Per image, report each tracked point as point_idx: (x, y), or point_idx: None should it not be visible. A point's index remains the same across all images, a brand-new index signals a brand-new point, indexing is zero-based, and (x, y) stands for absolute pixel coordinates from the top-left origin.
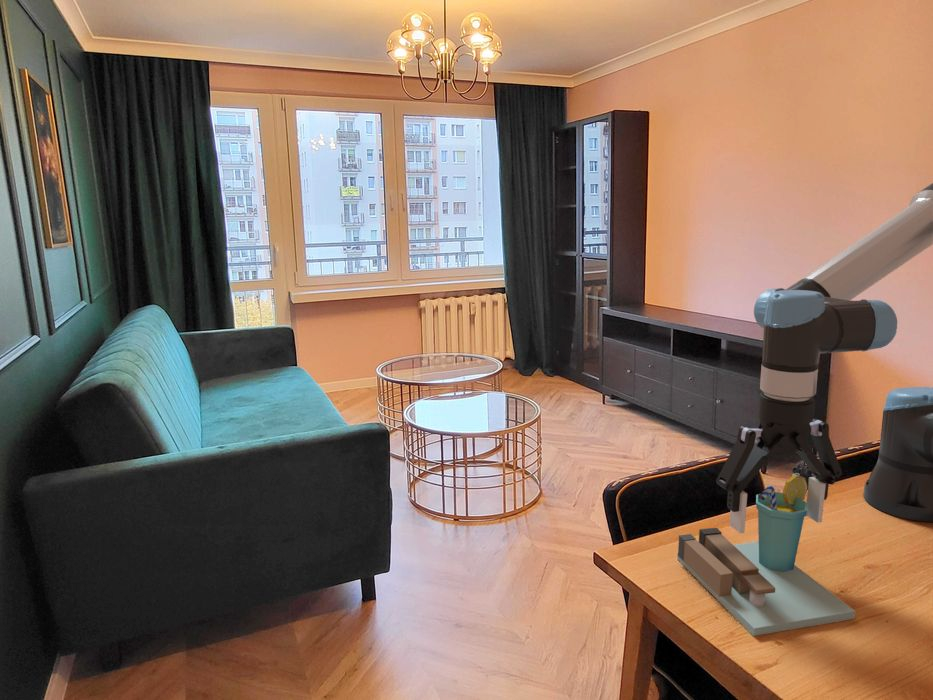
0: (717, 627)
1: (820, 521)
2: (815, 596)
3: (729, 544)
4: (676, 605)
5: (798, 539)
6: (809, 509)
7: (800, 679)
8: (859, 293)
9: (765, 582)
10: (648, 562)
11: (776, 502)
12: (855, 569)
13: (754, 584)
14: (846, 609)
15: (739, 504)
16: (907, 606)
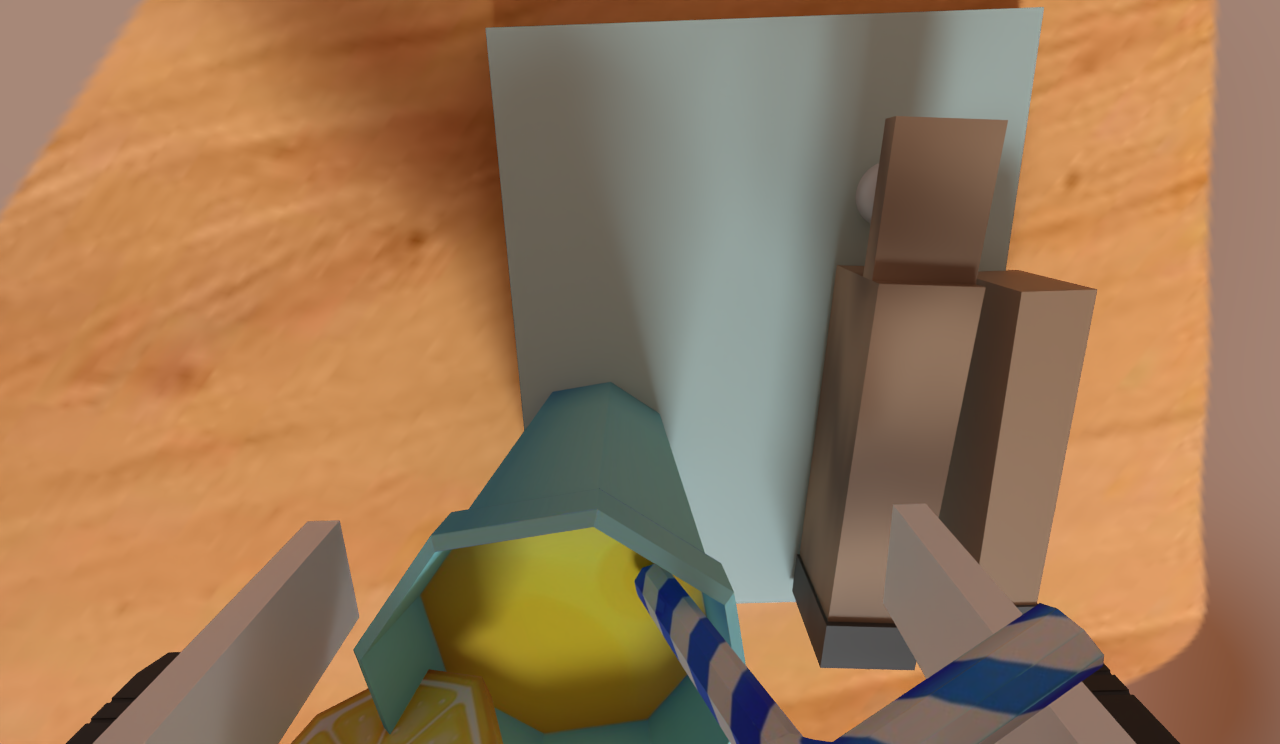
0: (1118, 113)
1: (314, 524)
2: (593, 178)
3: (857, 526)
4: (1169, 293)
5: (520, 446)
6: (327, 628)
7: None
8: None
9: (908, 180)
10: (1067, 580)
11: (513, 734)
12: (253, 372)
13: (979, 175)
14: (517, 50)
15: None
16: (192, 70)
